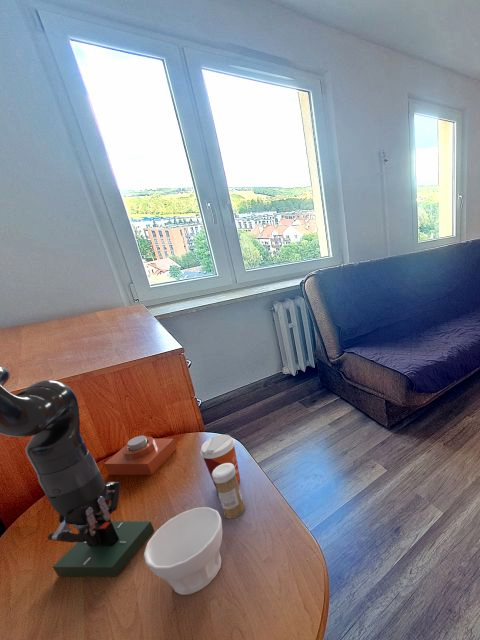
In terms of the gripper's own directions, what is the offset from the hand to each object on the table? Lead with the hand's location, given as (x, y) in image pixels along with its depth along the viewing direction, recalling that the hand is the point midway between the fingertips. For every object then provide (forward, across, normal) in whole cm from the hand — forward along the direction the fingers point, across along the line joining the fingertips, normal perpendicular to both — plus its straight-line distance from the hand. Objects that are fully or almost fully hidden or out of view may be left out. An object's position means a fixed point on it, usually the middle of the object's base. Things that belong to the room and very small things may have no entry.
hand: (102, 539), depth 71 cm
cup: (+4, +4, +22) cm, 23 cm away
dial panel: (+4, 0, 0) cm, 4 cm away
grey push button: (-2, -26, -13) cm, 29 cm away
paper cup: (+4, -18, +16) cm, 24 cm away
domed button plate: (+4, -26, -13) cm, 29 cm away
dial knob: (+1, 0, 0) cm, 1 cm away
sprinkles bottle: (+4, -10, +22) cm, 25 cm away
